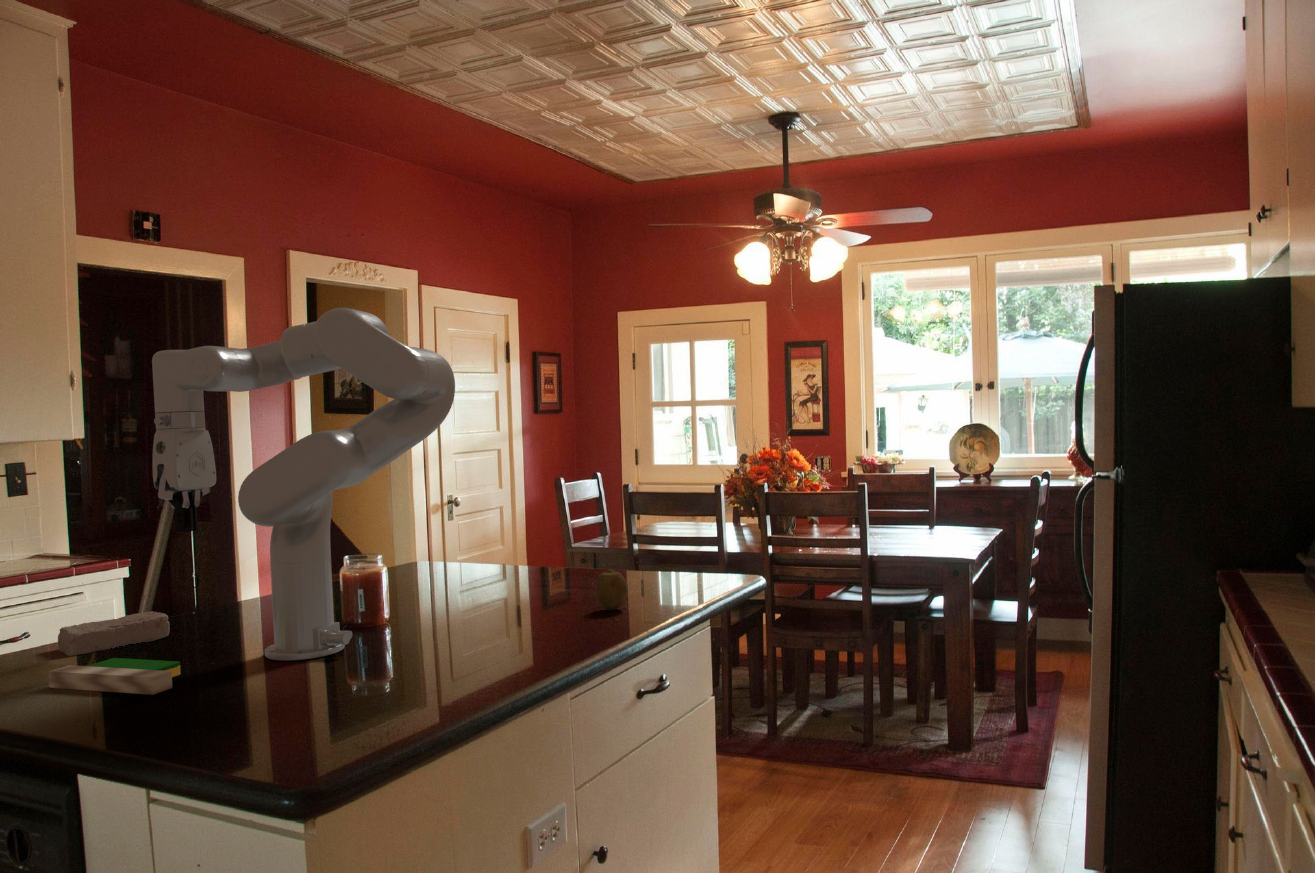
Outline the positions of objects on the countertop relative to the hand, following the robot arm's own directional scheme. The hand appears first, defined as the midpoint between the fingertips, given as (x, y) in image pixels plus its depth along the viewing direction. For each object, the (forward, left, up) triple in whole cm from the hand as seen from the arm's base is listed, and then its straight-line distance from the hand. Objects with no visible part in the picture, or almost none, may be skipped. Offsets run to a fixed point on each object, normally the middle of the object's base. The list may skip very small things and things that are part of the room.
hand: (187, 530), depth 165 cm
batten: (-4, +20, -21) cm, 29 cm away
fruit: (-60, -43, -21) cm, 77 cm away
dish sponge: (-2, +15, -22) cm, 26 cm away
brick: (+21, -4, -22) cm, 31 cm away
